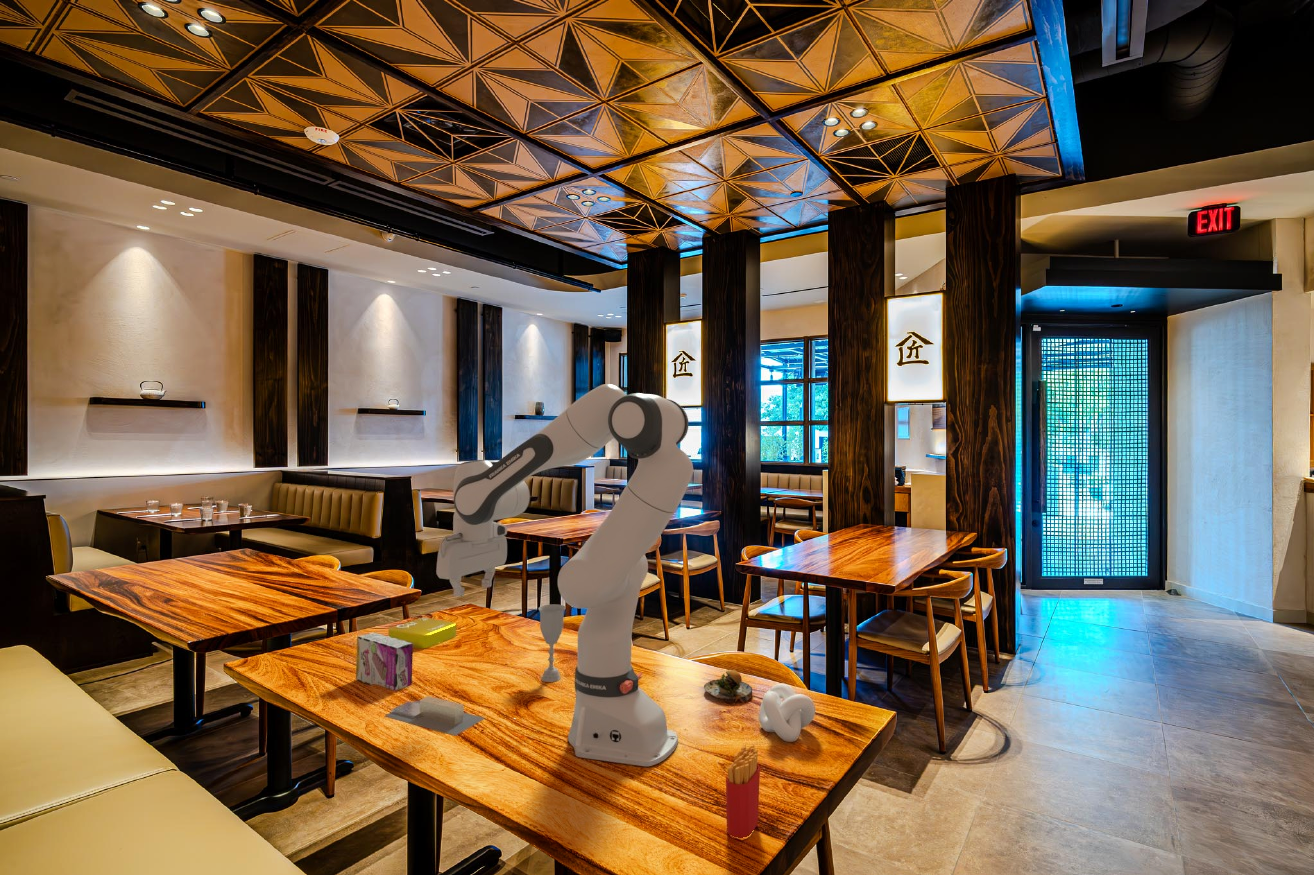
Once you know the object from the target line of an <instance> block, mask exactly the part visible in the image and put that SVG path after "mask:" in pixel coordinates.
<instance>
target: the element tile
mask: <svg viewBox="0 0 1314 875" xmlns="http://www.w3.org/2000/svg"><path fill="white" fill-rule="evenodd" d="M388 636H389V637H392V638H396V639H399V640H403V641H407V642H410V643H413V649H416V650H425V649H428V648H431V647H433V646H436V645H439V644H442V643H444V642H447V641H449V640H453V639H454V638H456V637H457V622H453V621H448V620H442V619H436V618H429V617H420V618H417V619H414V620H410V621H407V622H404V623H402V624H398V625H395V626H392V627H390V628H388Z"/></svg>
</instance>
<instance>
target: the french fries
mask: <svg viewBox="0 0 1314 875" xmlns="http://www.w3.org/2000/svg"><path fill="white" fill-rule="evenodd" d="M755 747H756V746H755V744H753V745H750V746H749V747H747V745H742V747H741V750H740V751H738V752H736V753H735V754H734V756H733V763H732V764H730V765H729V766H728V767H727V776H725V794H726V796H725V798H726V802H725V803H726V808H725V810H726V832H727V831H728V833H729V835H732V836H734V837H738V838H743V837H747V836H749V835H750V834H751V833H752V831H753V830H754V829H755V827H756V826H757V823H758V824H759V803H760V801H759V798H760V780H761V779H760V778H761V777H760V776H761V775H760V774H761V773H760V772H761V771H760V770H761V767H760V765H759V763H758V755H759V754H758V753H759V752H758V751H759V750H758V749H756V748H755ZM757 827H758V826H757ZM755 830H756V829H755ZM728 833H727V834H728ZM729 835H728V836H729Z"/></svg>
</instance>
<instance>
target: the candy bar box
mask: <svg viewBox="0 0 1314 875" xmlns="http://www.w3.org/2000/svg"><path fill="white" fill-rule="evenodd" d="M413 652H414V648H413V643H410V642H407V641H403V640H399V639H396V638H392V637H389V635H385V634H382V633H378V632H375V631H374V632H369V633H366V634H365V633H364V634H362V635H358V636H357V637H356V659H355V660H356V662H355V663H356V664H355V665H356V666H355V680H356V681H359V682H361V683H364V684H366V685H370V686H371V685H374V684H375V685H378V686H381V687H383V688H386V689H389V690H392V691H395V692H396V691H398V690H401V689H404V688H406V687H410V686H412V685H413V656H414V655H413Z"/></svg>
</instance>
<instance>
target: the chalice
mask: <svg viewBox="0 0 1314 875" xmlns="http://www.w3.org/2000/svg"><path fill="white" fill-rule="evenodd" d="M565 610H566V606H565V605H562V604H555V603H554V604H552V603H551V604H545V605H541V606H539V607H538V611H539V613H540V616H539V618H540V620H539V621H540V623H539V624H540V626H539V627H540V628H539V629H540V631H541V635H542V637H543V639H544V642H545V644H547V645H549V650H548V651H547V652H548V654H549V657H548V659H547V660H548V663H549V665H548V667H546V668H545V669H544V671H543V673H542V676H541V678H540V680H541V681H542V682H545V683H546V682H547V683H553V682H558V681H560V680H561V678H562V677H561V675H560V672H559V670H558V668H556V667H555V666H554V661H555V658H554V653H555V650H554V645H555V644H557V643H558V641H559V639H560V637H561V634H562V632H563V628H564V612H565Z"/></svg>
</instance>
